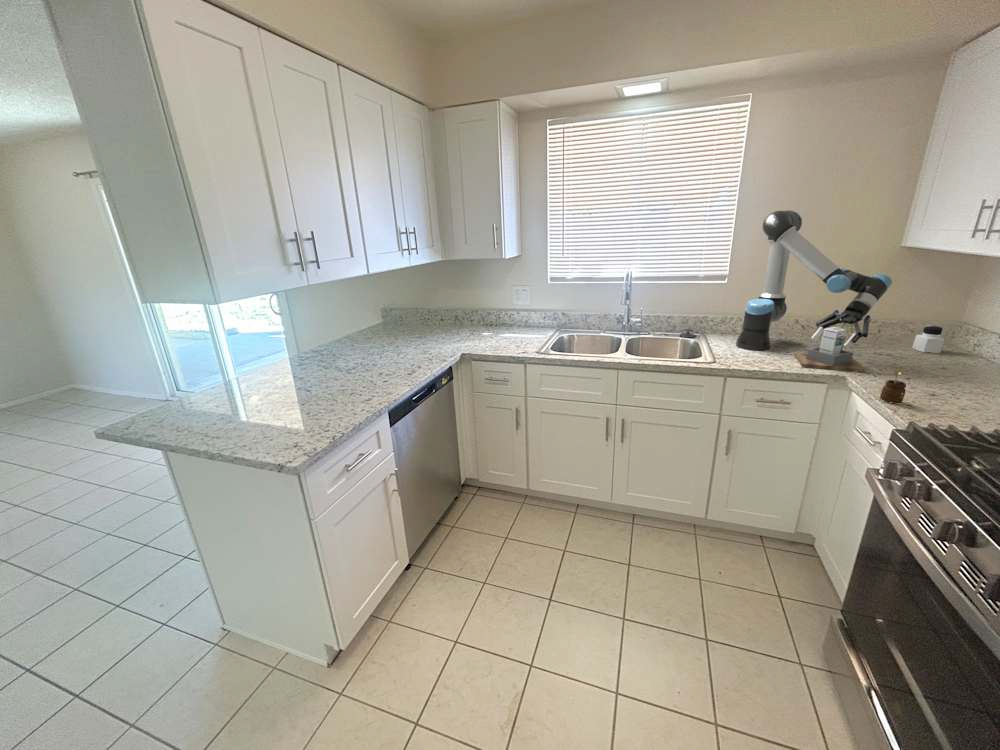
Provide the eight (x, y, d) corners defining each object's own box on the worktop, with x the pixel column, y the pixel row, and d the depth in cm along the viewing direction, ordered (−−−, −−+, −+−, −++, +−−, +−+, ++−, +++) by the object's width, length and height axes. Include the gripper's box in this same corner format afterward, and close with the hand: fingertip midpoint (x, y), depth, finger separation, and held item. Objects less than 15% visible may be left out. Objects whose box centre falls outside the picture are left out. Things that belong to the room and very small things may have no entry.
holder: (805, 358, 188) (807, 349, 186) (823, 355, 192) (825, 345, 190) (832, 366, 178) (835, 356, 176) (850, 362, 181) (853, 352, 180)
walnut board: (801, 366, 182) (802, 363, 182) (793, 355, 197) (794, 352, 196) (864, 372, 174) (865, 369, 173) (851, 360, 188) (852, 357, 188)
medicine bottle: (940, 353, 194) (949, 328, 190) (923, 353, 195) (931, 328, 191) (928, 349, 200) (936, 324, 196) (911, 348, 201) (919, 324, 197)
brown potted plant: (880, 402, 146) (890, 370, 142) (878, 396, 151) (887, 365, 147) (903, 405, 143) (914, 373, 139) (899, 399, 148) (910, 367, 144)
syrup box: (829, 363, 181) (838, 330, 176) (816, 359, 187) (824, 327, 182) (839, 361, 183) (848, 329, 178) (825, 357, 188) (833, 326, 183)
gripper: (896, 316, 172) (863, 356, 172) (832, 306, 194) (803, 341, 194) (892, 304, 168) (858, 345, 168) (827, 296, 190) (797, 331, 190)
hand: (828, 343), depth 181 cm, fingers open, 13 cm apart
